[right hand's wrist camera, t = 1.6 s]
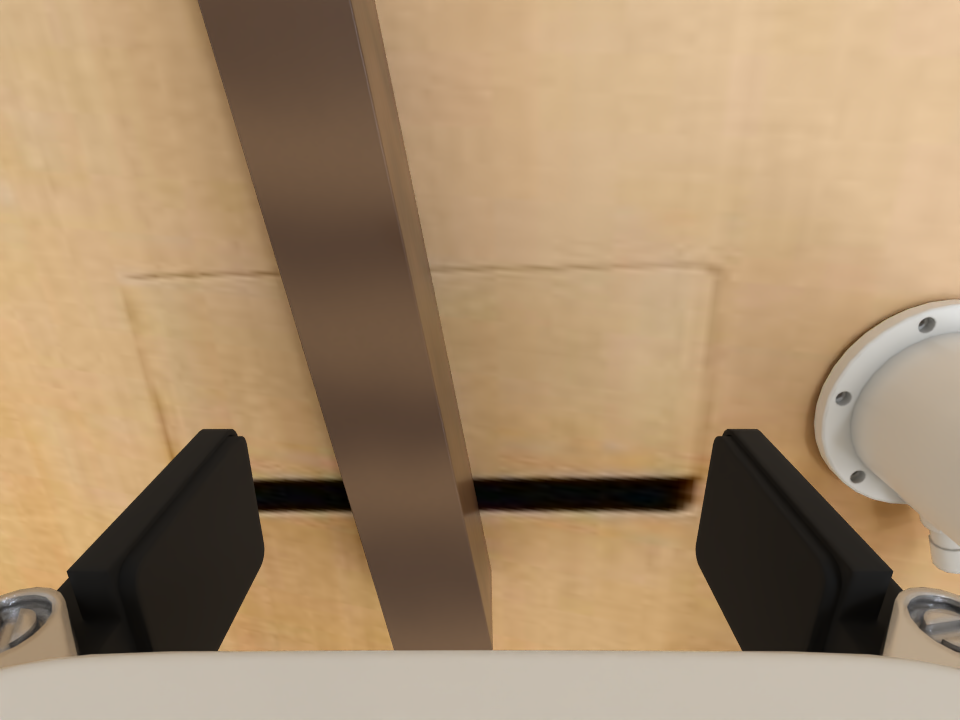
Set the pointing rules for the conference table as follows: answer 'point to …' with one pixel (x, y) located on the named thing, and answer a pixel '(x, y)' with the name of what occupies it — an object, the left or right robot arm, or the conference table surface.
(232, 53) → the beam
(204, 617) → the right robot arm
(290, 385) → the conference table surface
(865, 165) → the conference table surface
